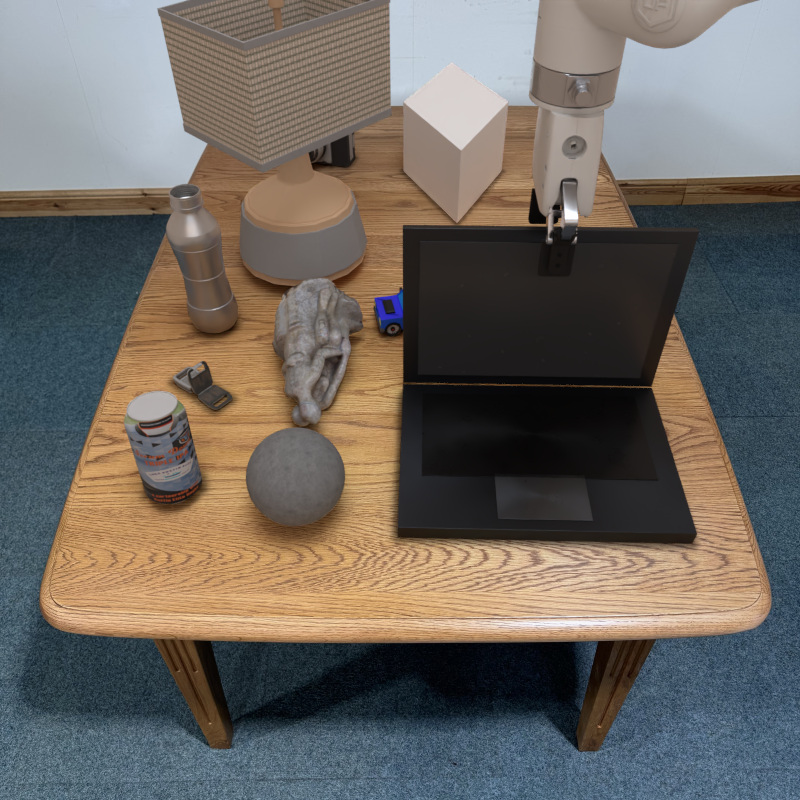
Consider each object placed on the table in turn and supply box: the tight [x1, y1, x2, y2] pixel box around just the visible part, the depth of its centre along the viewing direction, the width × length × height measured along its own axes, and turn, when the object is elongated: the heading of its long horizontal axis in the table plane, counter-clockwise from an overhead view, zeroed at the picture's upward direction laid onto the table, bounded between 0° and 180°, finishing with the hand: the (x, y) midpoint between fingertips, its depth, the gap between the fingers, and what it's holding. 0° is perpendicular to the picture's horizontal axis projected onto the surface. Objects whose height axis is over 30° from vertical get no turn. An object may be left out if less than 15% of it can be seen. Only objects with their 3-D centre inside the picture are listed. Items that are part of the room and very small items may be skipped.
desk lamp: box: [156, 0, 393, 287], centre depth 97 cm, size 22×19×37 cm
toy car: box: [372, 286, 403, 337], centre depth 97 cm, size 7×12×5 cm, turn 101°
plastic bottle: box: [165, 183, 239, 334], centre depth 92 cm, size 6×7×20 cm
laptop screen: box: [402, 224, 700, 388], centre depth 81 cm, size 21×30×1 cm
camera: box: [309, 132, 356, 168], centre depth 128 cm, size 14×8×10 cm, turn 73°
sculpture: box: [272, 278, 365, 427], centre depth 88 cm, size 11×18×12 cm
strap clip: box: [172, 360, 233, 411], centre depth 88 cm, size 8×3×4 cm, turn 51°
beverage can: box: [123, 390, 203, 505], centre depth 75 cm, size 6×7×12 cm
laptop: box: [397, 383, 698, 545], centre depth 81 cm, size 21×30×2 cm
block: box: [402, 61, 509, 224], centre depth 125 cm, size 18×35×12 cm, turn 179°
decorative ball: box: [245, 426, 346, 527], centre depth 74 cm, size 10×10×10 cm
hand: (547, 247), depth 75 cm, fingers open, 9 cm apart
